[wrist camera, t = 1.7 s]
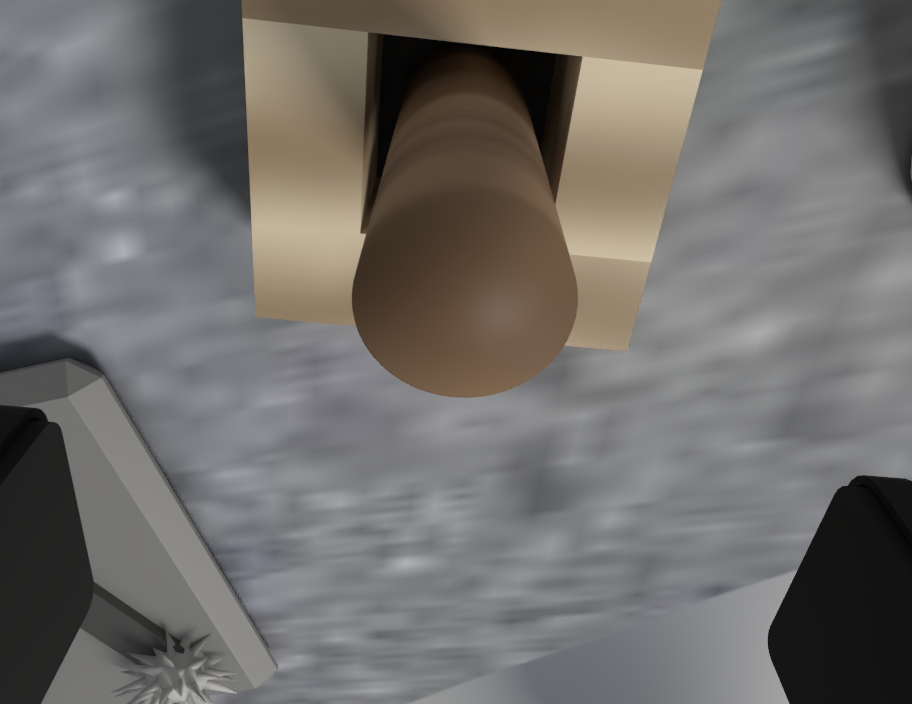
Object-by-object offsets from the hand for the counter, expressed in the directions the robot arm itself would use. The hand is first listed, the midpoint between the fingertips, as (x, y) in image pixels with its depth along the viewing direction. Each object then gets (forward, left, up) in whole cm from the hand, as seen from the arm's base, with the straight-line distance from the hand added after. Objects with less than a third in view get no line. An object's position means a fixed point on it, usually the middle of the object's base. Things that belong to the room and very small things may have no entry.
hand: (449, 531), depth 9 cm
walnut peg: (0, 0, -19) cm, 19 cm away
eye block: (0, 0, -19) cm, 19 cm away
